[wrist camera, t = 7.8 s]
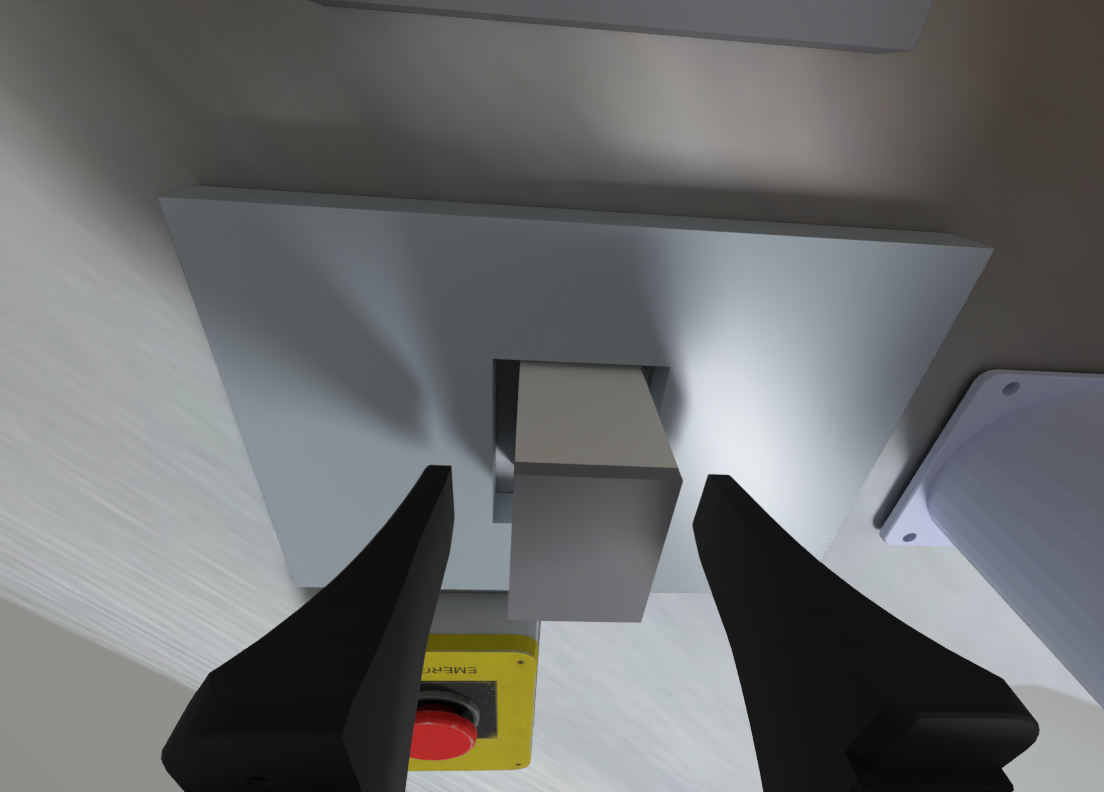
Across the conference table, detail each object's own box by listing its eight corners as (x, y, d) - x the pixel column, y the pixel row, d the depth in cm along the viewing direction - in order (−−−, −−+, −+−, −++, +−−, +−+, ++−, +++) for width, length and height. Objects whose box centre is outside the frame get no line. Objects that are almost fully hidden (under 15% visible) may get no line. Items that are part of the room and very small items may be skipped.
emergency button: (545, 660, 17) (532, 815, 25) (543, 560, 21) (533, 723, 29) (280, 660, 17) (353, 817, 25) (326, 557, 21) (377, 723, 29)
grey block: (633, 348, 15) (683, 480, 10) (610, 469, 18) (640, 622, 13) (521, 342, 15) (513, 474, 10) (515, 465, 17) (507, 620, 12)
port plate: (951, 233, 13) (995, 249, 12) (785, 564, 21) (801, 595, 20) (196, 185, 12) (157, 196, 11) (310, 554, 20) (294, 586, 18)
